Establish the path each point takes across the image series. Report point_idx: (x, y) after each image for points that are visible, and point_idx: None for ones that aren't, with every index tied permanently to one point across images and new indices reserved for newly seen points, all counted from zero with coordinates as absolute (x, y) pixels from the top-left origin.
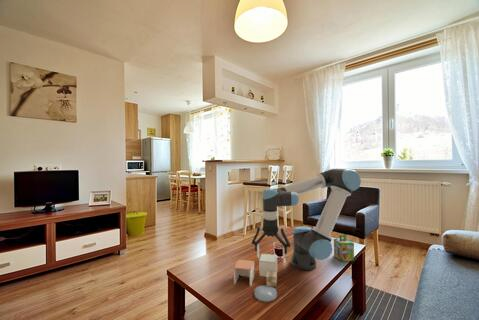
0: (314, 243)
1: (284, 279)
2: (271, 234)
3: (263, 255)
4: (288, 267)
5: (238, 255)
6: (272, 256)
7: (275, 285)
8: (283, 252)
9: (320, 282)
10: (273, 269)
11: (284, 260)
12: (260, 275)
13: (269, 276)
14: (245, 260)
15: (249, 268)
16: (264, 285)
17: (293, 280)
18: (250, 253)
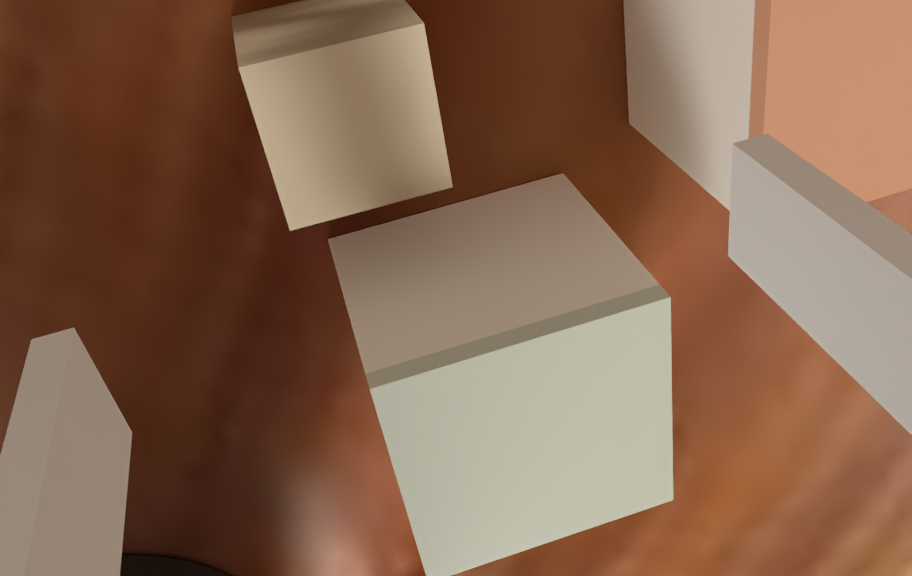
0: None
1: (194, 260)
2: None
3: (633, 470)
4: (262, 523)
5: (902, 444)
6: (483, 515)
7: (242, 18)
8: (16, 513)
9: None
10: (383, 296)
11: (32, 346)
12: (552, 180)
13: (364, 39)
14: (907, 184)
15: None
16: None
17: (58, 299)
18: (778, 538)
